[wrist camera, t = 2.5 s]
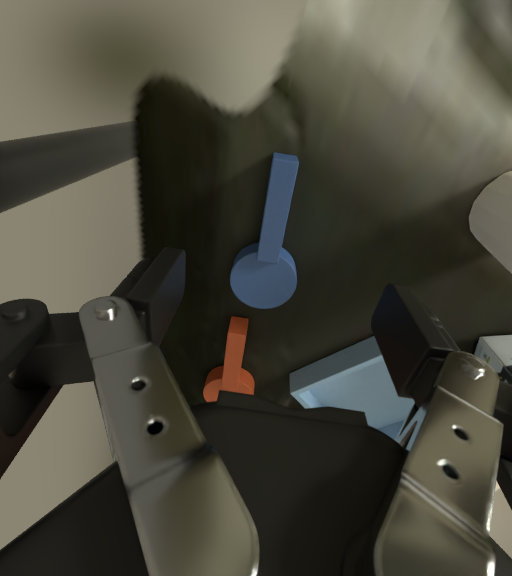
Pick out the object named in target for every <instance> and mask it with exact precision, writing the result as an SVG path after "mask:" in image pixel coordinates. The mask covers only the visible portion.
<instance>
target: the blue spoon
mask: <svg viewBox="0 0 512 576" xmlns="http://www.w3.org/2000/svg"><path fill="white" fill-rule="evenodd" d="M298 165H299V162H298V159H297V156H293V155H287V154H281V153H275V152H274V153H273V157H272V163H271V170H270V176H269V182H268V188H267V195H266V201H265V207H264V213H263V219H262V226H261V232H260V238H259V243H254V244H251V245H249V246H247V247H245V248H244V249H242V250H241V251H240V252H239V253H238V255H237V256H236V258H235V260H234V263H233V266H232V270H231V274H230V285H231V288H232V290H233V292H234V294H235V295H236V297H237V298H238V299H239V300H240V301H242V302H243V303H245V304H246V305H248V306H251V307H254V308H259V309H269V308H274V307H277V306H280V305H282V304H283V303H285V302H286V301H287V300H288V299H289V298H290V297H291V296H292V295H293V293H294V291H295V289H296V285H297V276H296V267H295V263H294V260H293V258H292V257H291V255H290V254H289V253H288V252H287V251H286V250H285V249H284V248H282V243H283V238H284V233H285V228H286V223H287V218H288V214H289V209H290V204H291V199H292V194H293V190H294V185H295V180H296V175H297V170H298Z"/></svg>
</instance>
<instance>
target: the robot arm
mask: <svg viewBox="0 0 512 576" xmlns="http://www.w3.org/2000/svg"><path fill="white" fill-rule="evenodd" d="M185 261H186V255H185V250H181V249H175V248H169V247H164V248H163V250H162V251H161V252H160V254H159V255H158V256H157V257H156V258H152V257H148V258H146V259H144V260H143V261H141V262H139V263H138V264H137V265H136V266H135V267H134V268H133V270H132V271H131V272H130V273H129V274H128V275H127V277H126V278H125V279H124V280H123V281H122V282H121V283H120V285H119V286H118V287H117V288H116V289H115V290H114V292H113V293H112V294H111V295H110V296H106V297H100V298H96V299H93V300H91V301H89V302H87V303H86V304H84V305H83V306H82V307H81V309H80V311H79V312H76V313H58V314H49V313H48V309H47V306H46V305H45V304H44V303H43V302H41V301H39V300H34V299H18V300H13V301H9V302H6V303H3V304H0V479H1V477H2V476H3V474H4V473H5V471H6V470H7V468H8V467H9V465H10V464H11V462H12V461H13V459H14V457H15V456H16V455H17V453H18V452H19V450H20V449H21V447H22V446H23V444H24V443H25V441H26V440H27V438H28V437H29V435H30V434H31V432H32V431H33V429H34V428H35V426H36V425H37V423H38V422H39V420H40V419H41V418H42V416H43V415H44V413H45V412H46V410H47V409H48V407H49V406H50V404H51V403H52V401H53V400H54V398H55V397H56V395H57V394H58V392H59V391H60V389H61V388H62V386H63V385H65V384H73V383H82V382H91V381H94V385H95V389H96V393H97V397H98V400H99V404H100V408H101V412H102V416H103V420H104V424H105V428H106V432H107V436H108V439H109V445H110V449H111V452H112V457H113V461H114V463H112V464H111V465H110V466H108V467H107V468H106V469H105V470H103V471H102V472H101V473H99V474H98V475H97V476H96V477H94V478H93V479H92V480H90V481H89V482H88V483H86V484H85V485H84V486H83V487H81V488H80V489H79V490H77V491H76V492H75V493H74V494H72V495H71V496H70V497H68V498H67V499H66V500H64V501H63V502H62V503H61V504H59V505H58V506H57V507H55V508H54V509H53V510H51V511H50V512H49V513H48V514H46V515H45V516H44V517H42V518H41V519H40V520H39V521H37V522H36V523H35V524H33V525H32V526H31V527H29V528H28V529H27V530H26V531H24V532H23V533H22V534H20V535H19V536H18V537H16V538H15V539H14V540H13V541H11V542H10V543H9V544H7V545H6V546H5V547H4V548H2V549H1V550H0V576H512V559H511V558H510V557H509V556H508V555H507V554H506V553H505V551H504V550H503V549H502V548H500V546H499V545H498V544H497V543H496V542H495V541H494V540H493V539H492V538H491V537H490V536H489V531H490V523H491V515H492V508H493V501H494V494H495V486H496V480H497V482H498V484H499V486H500V488H501V490H502V492H503V494H504V496H505V498H506V500H507V502H508V504H509V506H510V508H511V509H512V385H511V384H508V383H505V382H503V381H500V380H499V376H498V374H497V373H496V371H495V370H494V369H493V368H492V367H491V366H490V365H489V364H488V363H486V362H485V361H483V360H482V359H480V358H479V357H477V356H475V355H473V354H470V353H467V352H464V351H461V350H460V349H459V347H458V346H457V345H456V343H455V342H454V340H453V339H452V338H451V336H450V335H449V333H448V332H447V331H446V329H444V326H443V325H442V324H441V322H440V321H438V318H437V317H436V315H435V314H434V312H433V311H432V310H431V309H430V308H429V307H428V306H426V305H425V304H424V303H423V302H421V301H419V299H418V298H417V296H416V295H415V293H414V292H413V290H412V289H411V288H410V287H408V286H401V285H395V284H388V285H387V286H386V287H385V289H384V291H383V294H382V296H381V298H380V300H379V302H378V305H377V307H376V309H375V311H374V313H373V316H372V320H371V328H372V331H373V334H374V337H375V339H376V342H377V344H378V347H379V349H380V352H381V354H382V357H383V359H384V362H385V364H386V367H387V369H388V372H389V375H390V377H391V380H392V382H393V385H394V387H395V390H396V392H397V395H398V397H403V398H410V399H413V400H414V402H415V403H414V404H413V406H412V407H411V409H410V411H409V413H408V415H407V417H406V419H405V421H404V423H403V425H402V427H401V429H400V431H399V433H398V435H397V437H396V439H395V440H394V439H392V438H391V437H390V436H388V435H386V434H385V433H383V432H382V431H380V430H378V429H376V428H374V427H372V426H369V425H368V423H367V419H366V416H365V412H362V411H356V410H349V409H343V408H336V407H329V406H328V407H317V408H306V409H290V408H287V407H284V406H282V405H279V404H277V403H274V402H272V401H269V400H266V399H264V398H261V397H259V396H256V395H251V394H244V393H238V392H231V391H224V390H219V393H218V398H217V401H212V402H206V403H201V404H198V405H195V406H192V407H189V405H188V403H187V401H186V400H185V398H184V396H183V394H182V392H181V390H180V388H179V386H178V384H177V382H176V380H175V378H174V376H173V374H172V372H171V370H170V368H169V366H168V364H167V362H166V360H165V358H164V356H163V354H162V352H161V350H160V348H159V345H160V343H161V341H162V339H163V337H164V335H165V333H166V331H167V329H168V327H169V325H170V323H171V321H172V319H173V317H174V315H175V312H176V310H177V308H178V306H179V304H180V302H181V300H182V298H183V294H184V289H185Z"/></svg>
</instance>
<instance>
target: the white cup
mask: <svg viewBox="0 0 512 576" xmlns="http://www.w3.org/2000/svg"><path fill="white" fill-rule="evenodd" d="M469 226H470V231H471V232H472V234H473V235H474V236H475V238H476V239H477V240H478V241H479V242H480V243H481V244H482V245H483V246H484V247H485V248H486V249H487V250H488V251H489V252H490V253H491V254H492V255H493V256H494V257H495V258H496V259H497V260H498V261H499V262H500V263H501V264H502V265H503V266H504V267H505V268H506V269H507V270H508V271H510V272H511V273H512V171H509V172H506V173H504V174H502V175H500V176H499V177H498V178H496V179H495V180H494V181H492V182H491V183H490V184H488V185H487V186H486V187H485V188H484V189H483V191H482V192H481V193H480V194H479V196H478V197H477V198H476V200H475V201H474V203H473V206H472V209H471V212H470V214H469Z"/></svg>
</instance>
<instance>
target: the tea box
mask: <svg viewBox="0 0 512 576" xmlns="http://www.w3.org/2000/svg"><path fill="white" fill-rule="evenodd" d="M474 355H475V356H477V357H479V358H480V359H482V360H483V361H485V362H486V363H488V364H489V365H490V366H491V367H492V368H493V369H494V370H495V371H496V373H497V374H498V376H499V380H500V381H503V382H505V383H508V384H511V385H512V335H501V336H487V337H480V338H479V342H478V344H477V347H476V350H475V353H474Z"/></svg>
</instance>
